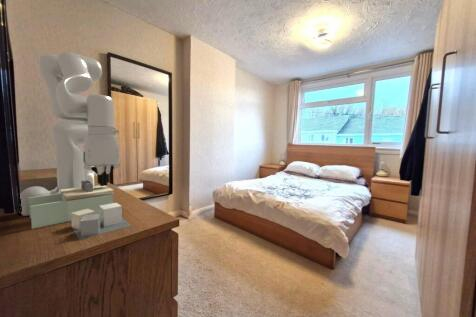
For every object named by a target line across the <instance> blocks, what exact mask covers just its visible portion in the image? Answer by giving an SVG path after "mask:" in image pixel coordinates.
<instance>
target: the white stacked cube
mask: <svg viewBox="0 0 476 317" xmlns="http://www.w3.org/2000/svg"><path fill="white" fill-rule="evenodd" d="M122 207H123V206H122V205H121V204H119V203H118V202H114V203H112V204H106V205H101V206H99V214H100V221H101V224H102V225H103V226H104V227H106V226H110V225H114V224H118V223H122V218H123V216H122V215H123V208H122Z"/></svg>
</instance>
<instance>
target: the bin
mask: <svg viewBox="0 0 476 317" xmlns="http://www.w3.org/2000/svg"><path fill="white" fill-rule="evenodd" d="M112 203H115V202H114V193H111V194H105V195H98V196H91V197H85V198H78V199H72V200H66V199H65V198H64V197H63V196H62V194H61V193H60V194H52V195H45V196H37V197H29V212H30V215H29V218H30V219H31V230H33V229H39V228H44V227H49V226H52V225H57V224H61V223H66V222H67V223H68V222H72V220H71V213H72V212H76V211H80V210H84V209H90V210H93V211H95V214H99V206H101V205H106V204H112Z"/></svg>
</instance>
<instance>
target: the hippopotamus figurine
mask: <svg viewBox="0 0 476 317" xmlns="http://www.w3.org/2000/svg"><path fill="white" fill-rule="evenodd" d="M19 194H20V199H21V205H20V206H21V207H22V212H21V213H20V214H21V215H22V216H23V217H27V216H30V212H29V197H37V196H45V195H52V194H60V190H59V188H58V186H55V187H54V189H51V190H48V189H47V188H45V187H43V186H37V185H35V186H29V187H27V188H25V189H24V190H22V191H21V192H20V193H19Z"/></svg>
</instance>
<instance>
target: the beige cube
mask: <svg viewBox="0 0 476 317" xmlns="http://www.w3.org/2000/svg"><path fill="white" fill-rule="evenodd" d="M92 214H95V211H93V210H90V209H84V210H80V211H76V212H72V213H71V220H72V221H71V225H72V227H73V228H76V229H78V230H81V224H80V221H81V220H82V218H83V216H84V215H92ZM72 227H71V228H72Z"/></svg>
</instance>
